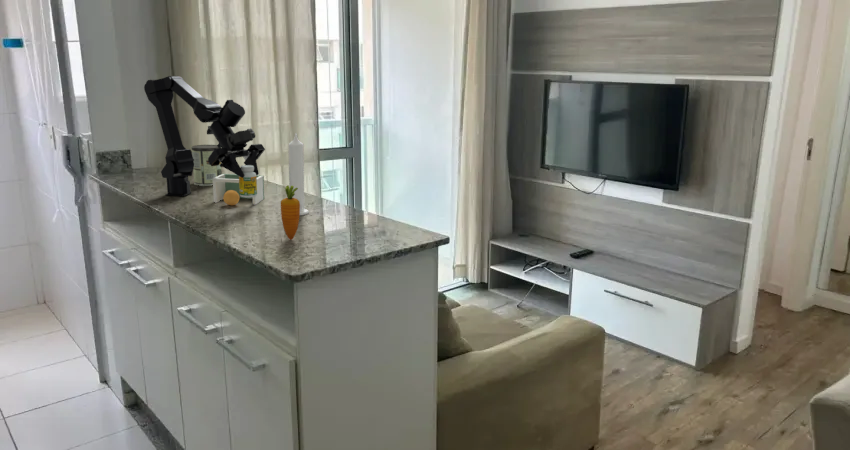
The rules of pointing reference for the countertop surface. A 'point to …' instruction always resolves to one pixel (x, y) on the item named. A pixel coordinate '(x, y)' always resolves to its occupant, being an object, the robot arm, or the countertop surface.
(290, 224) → the carrot
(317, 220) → the countertop surface
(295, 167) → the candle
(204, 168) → the coffee can
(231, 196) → the ball
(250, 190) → the supplement bottle
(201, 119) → the robot arm
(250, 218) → the countertop surface
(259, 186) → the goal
